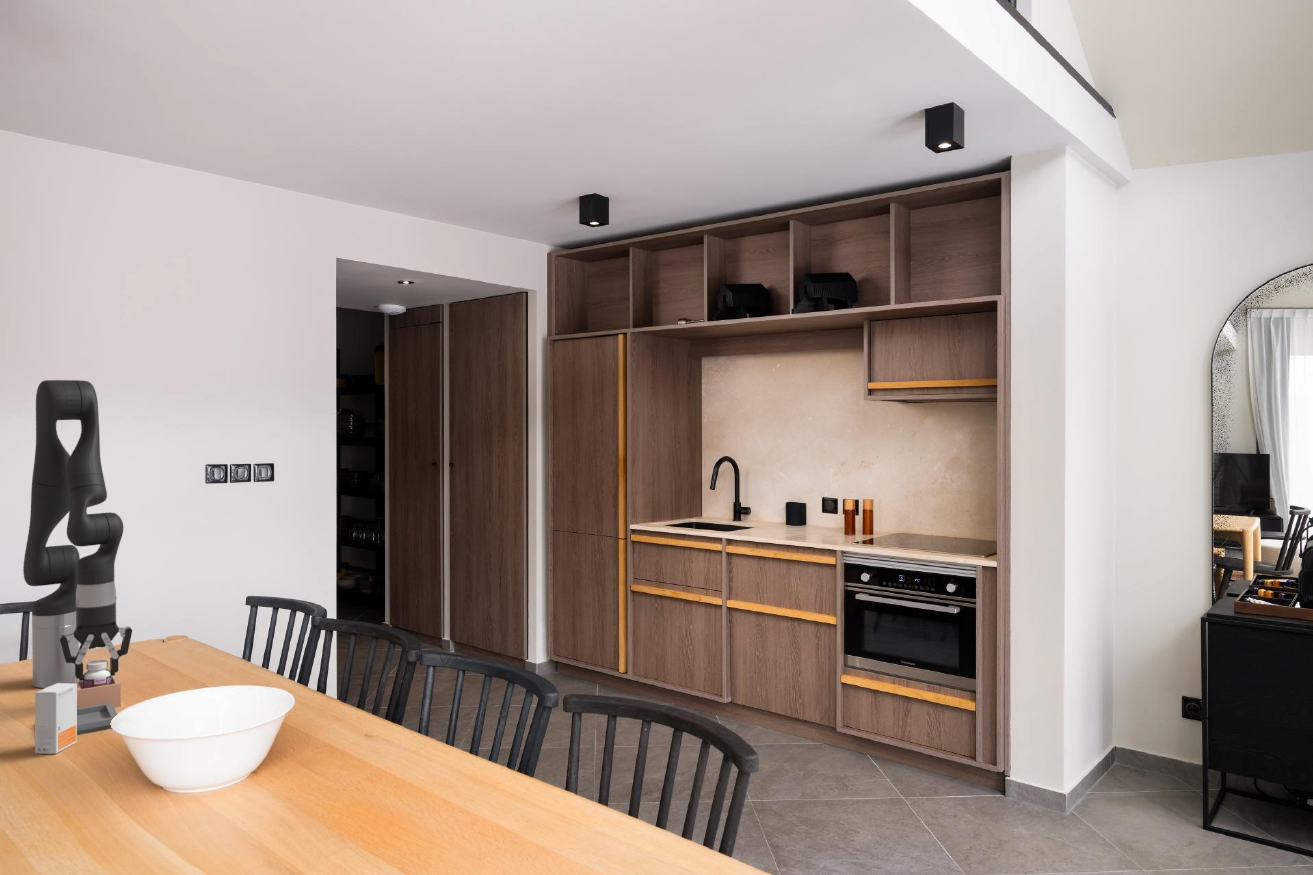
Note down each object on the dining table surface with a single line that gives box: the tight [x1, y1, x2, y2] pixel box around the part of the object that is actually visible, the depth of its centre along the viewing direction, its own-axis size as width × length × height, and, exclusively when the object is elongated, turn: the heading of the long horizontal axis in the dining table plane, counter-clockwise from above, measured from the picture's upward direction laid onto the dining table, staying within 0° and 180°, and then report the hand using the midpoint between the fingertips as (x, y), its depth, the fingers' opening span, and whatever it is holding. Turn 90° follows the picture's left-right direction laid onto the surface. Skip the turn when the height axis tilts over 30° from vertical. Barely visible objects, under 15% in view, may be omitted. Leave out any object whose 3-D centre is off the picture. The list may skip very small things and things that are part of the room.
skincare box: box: [34, 683, 78, 755], centre depth 167 cm, size 6×4×12 cm
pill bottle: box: [83, 659, 111, 689], centre depth 192 cm, size 5×5×10 cm
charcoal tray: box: [77, 702, 118, 736], centre depth 180 cm, size 12×12×2 cm
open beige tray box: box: [73, 674, 122, 708], centre depth 192 cm, size 8×8×5 cm
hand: (96, 676), depth 192 cm, fingers closed on pill bottle, 5 cm apart
